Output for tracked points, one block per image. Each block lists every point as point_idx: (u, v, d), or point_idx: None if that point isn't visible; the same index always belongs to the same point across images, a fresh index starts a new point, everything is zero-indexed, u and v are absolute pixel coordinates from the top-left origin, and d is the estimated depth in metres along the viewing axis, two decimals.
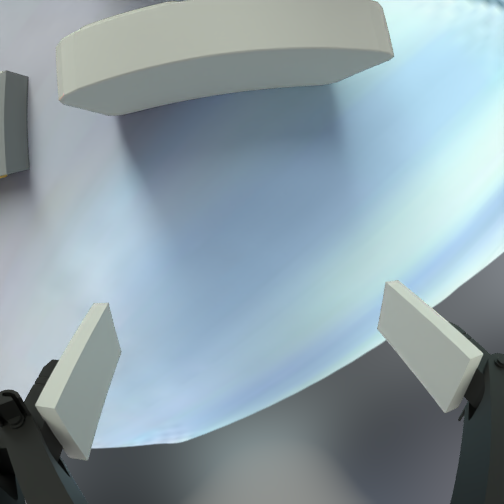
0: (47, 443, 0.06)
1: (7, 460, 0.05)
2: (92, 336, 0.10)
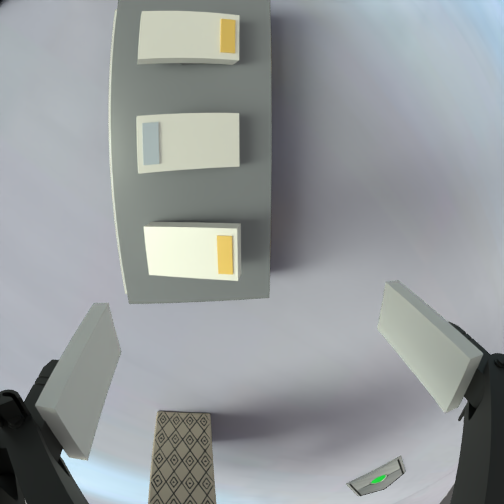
0: (47, 443, 0.06)
1: (7, 460, 0.05)
2: (92, 336, 0.10)
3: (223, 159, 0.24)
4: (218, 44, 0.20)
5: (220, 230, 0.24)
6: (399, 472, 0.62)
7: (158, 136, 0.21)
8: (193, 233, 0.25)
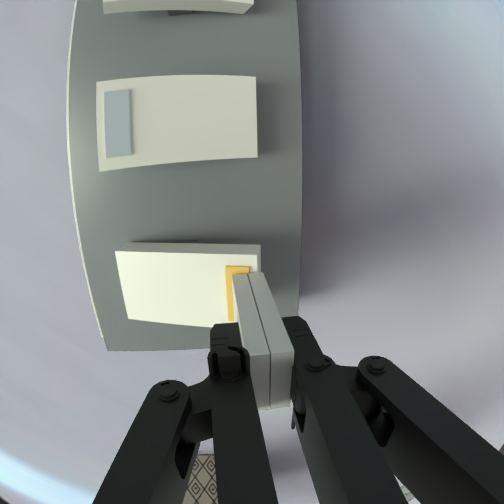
0: None
1: (209, 423, 0.08)
2: (253, 299, 0.13)
3: (232, 146, 0.15)
4: None
5: (230, 258, 0.15)
6: None
7: (129, 111, 0.12)
8: (188, 262, 0.16)
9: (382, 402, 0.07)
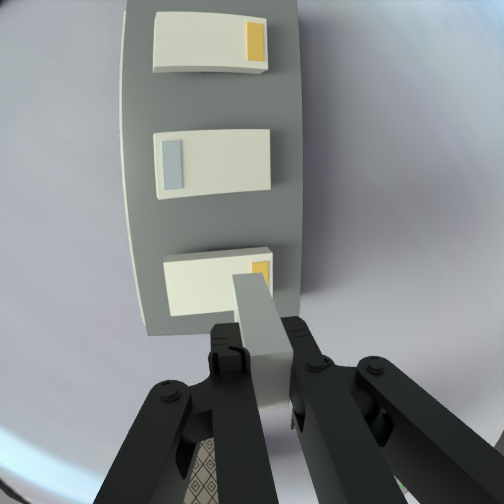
0: None
1: (210, 423, 0.08)
2: (253, 299, 0.13)
3: (253, 182, 0.22)
4: (244, 51, 0.18)
5: (255, 257, 0.23)
6: None
7: (180, 156, 0.19)
8: (225, 263, 0.23)
9: (381, 403, 0.07)
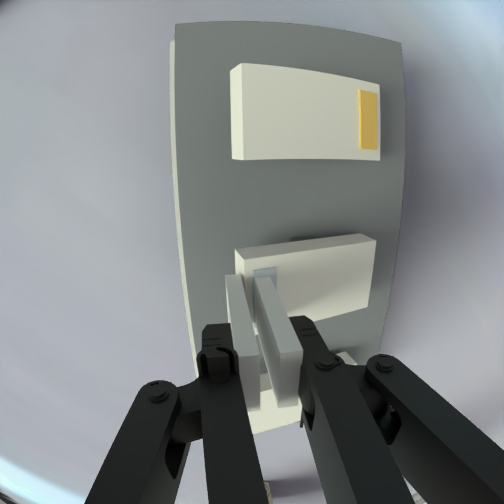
0: None
1: (198, 423, 0.08)
2: (245, 300, 0.13)
3: (351, 302, 0.18)
4: (357, 135, 0.15)
5: None
6: None
7: (276, 287, 0.16)
8: None
9: (389, 400, 0.07)
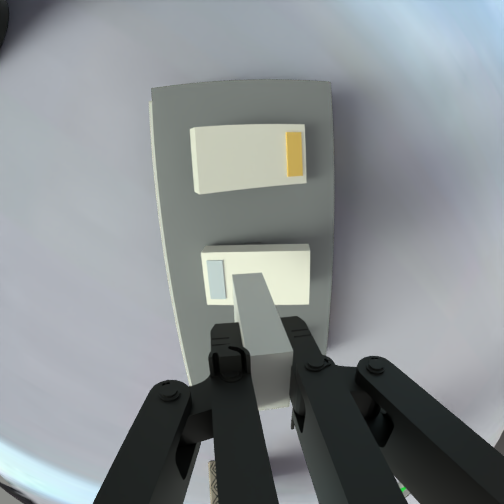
0: None
1: (210, 423, 0.08)
2: (253, 299, 0.13)
3: (291, 297, 0.24)
4: (285, 167, 0.21)
5: None
6: None
7: (223, 274, 0.23)
8: None
9: (381, 403, 0.07)
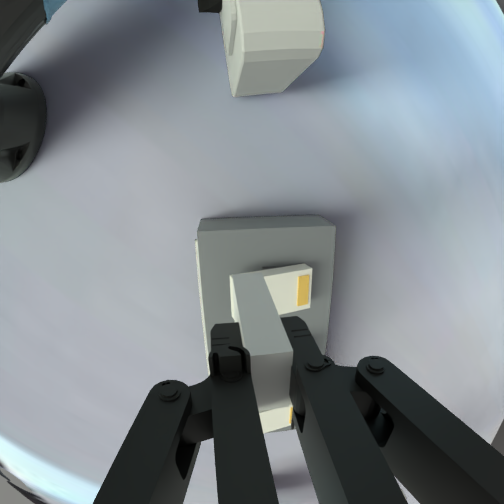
0: None
1: (210, 423, 0.08)
2: (253, 299, 0.13)
3: None
4: (295, 300, 0.31)
5: None
6: None
7: None
8: (276, 411, 0.35)
9: (381, 403, 0.07)
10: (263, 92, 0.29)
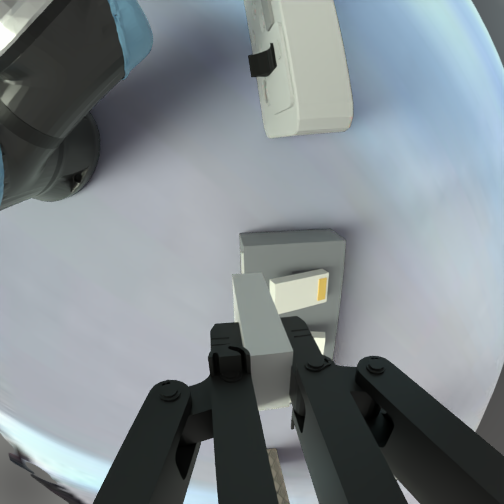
0: None
1: (209, 423, 0.08)
2: (253, 299, 0.13)
3: None
4: (316, 296, 0.41)
5: None
6: None
7: None
8: None
9: (381, 402, 0.07)
10: None
